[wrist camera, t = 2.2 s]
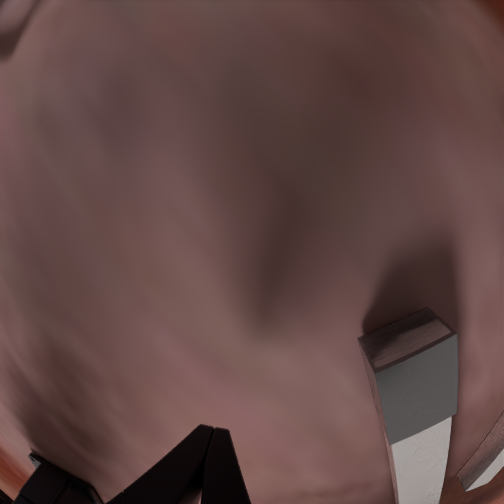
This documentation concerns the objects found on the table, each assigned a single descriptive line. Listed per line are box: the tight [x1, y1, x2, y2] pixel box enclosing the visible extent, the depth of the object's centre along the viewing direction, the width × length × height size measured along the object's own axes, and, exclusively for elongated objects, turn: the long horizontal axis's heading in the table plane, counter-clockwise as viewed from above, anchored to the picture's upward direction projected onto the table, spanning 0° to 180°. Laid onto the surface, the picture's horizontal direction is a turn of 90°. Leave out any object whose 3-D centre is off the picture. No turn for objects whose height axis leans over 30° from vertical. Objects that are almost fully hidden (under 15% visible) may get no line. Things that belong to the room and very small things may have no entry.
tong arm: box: [358, 307, 458, 504], centre depth 9 cm, size 19×4×2 cm, turn 23°
